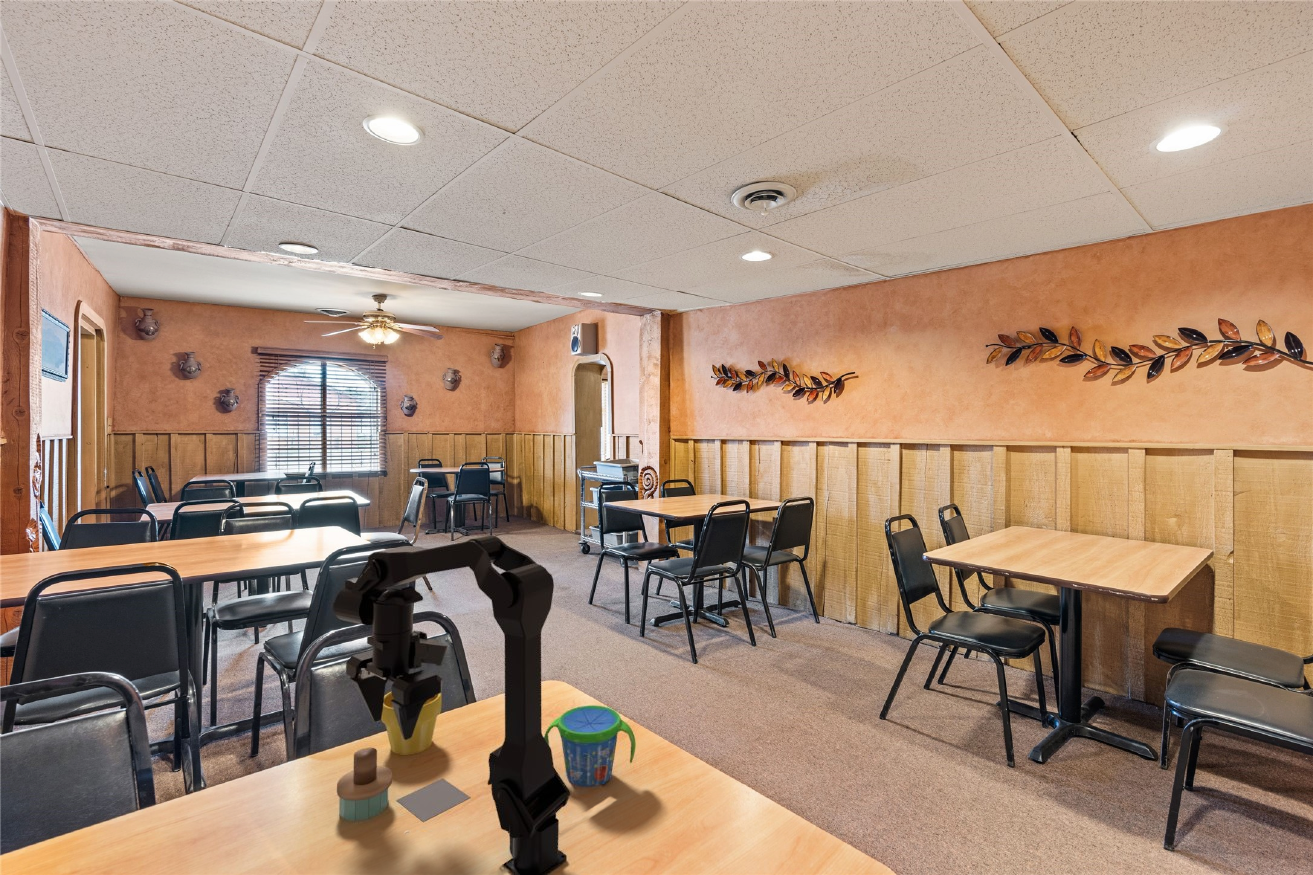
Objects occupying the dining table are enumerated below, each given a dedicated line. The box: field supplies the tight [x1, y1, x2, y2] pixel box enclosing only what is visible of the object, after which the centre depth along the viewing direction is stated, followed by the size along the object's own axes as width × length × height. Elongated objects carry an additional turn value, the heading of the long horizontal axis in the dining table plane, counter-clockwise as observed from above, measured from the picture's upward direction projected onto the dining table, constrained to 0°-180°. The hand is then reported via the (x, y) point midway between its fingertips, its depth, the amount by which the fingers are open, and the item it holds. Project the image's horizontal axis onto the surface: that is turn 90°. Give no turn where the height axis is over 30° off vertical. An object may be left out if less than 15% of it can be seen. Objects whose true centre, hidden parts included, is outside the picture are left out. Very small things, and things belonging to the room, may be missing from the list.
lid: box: [336, 747, 393, 801], centre depth 93 cm, size 8×8×5 cm
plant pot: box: [380, 691, 443, 756], centre depth 111 cm, size 10×10×10 cm
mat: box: [395, 778, 471, 823], centre depth 95 cm, size 8×8×1 cm
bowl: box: [338, 788, 389, 822], centre depth 93 cm, size 7×7×4 cm
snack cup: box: [543, 705, 636, 788], centre depth 103 cm, size 16×10×10 cm
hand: (392, 729), depth 95 cm, fingers open, 9 cm apart
